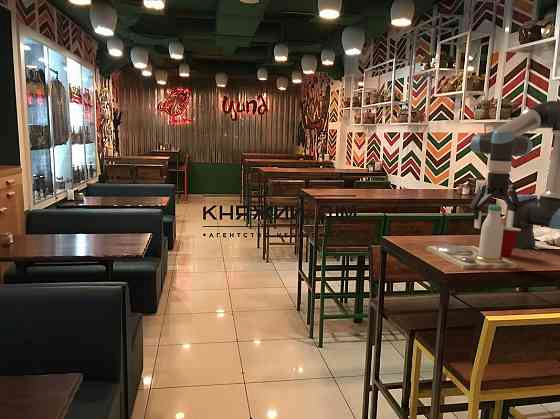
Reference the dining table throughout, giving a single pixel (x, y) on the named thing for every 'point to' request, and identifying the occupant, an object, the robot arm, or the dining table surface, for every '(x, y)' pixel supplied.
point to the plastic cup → (509, 240)
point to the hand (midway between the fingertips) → (493, 227)
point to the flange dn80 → (488, 259)
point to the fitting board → (478, 264)
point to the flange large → (454, 250)
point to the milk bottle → (491, 234)
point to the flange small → (468, 260)
